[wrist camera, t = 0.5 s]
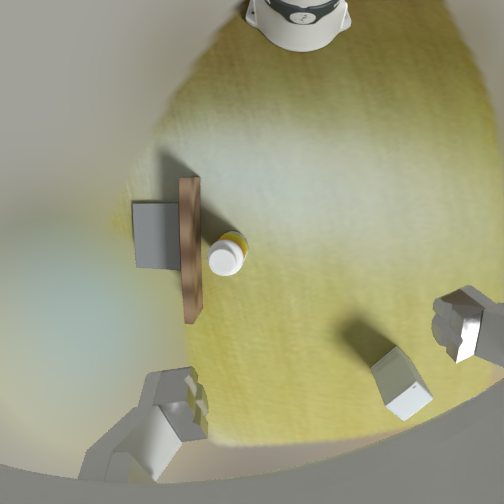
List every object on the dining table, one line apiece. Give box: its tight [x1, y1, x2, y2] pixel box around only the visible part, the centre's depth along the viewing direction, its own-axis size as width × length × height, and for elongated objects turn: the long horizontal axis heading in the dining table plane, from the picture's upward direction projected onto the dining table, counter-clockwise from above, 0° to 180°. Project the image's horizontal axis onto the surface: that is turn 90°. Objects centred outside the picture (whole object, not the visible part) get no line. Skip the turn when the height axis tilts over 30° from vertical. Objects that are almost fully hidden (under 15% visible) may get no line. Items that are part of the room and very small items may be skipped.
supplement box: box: [371, 346, 433, 421], centre depth 52 cm, size 7×7×13 cm
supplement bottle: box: [207, 231, 248, 276], centre depth 50 cm, size 6×6×10 cm
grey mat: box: [133, 203, 181, 270], centre depth 56 cm, size 12×9×1 cm
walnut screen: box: [179, 177, 203, 324], centre depth 52 cm, size 24×2×7 cm, turn 179°
